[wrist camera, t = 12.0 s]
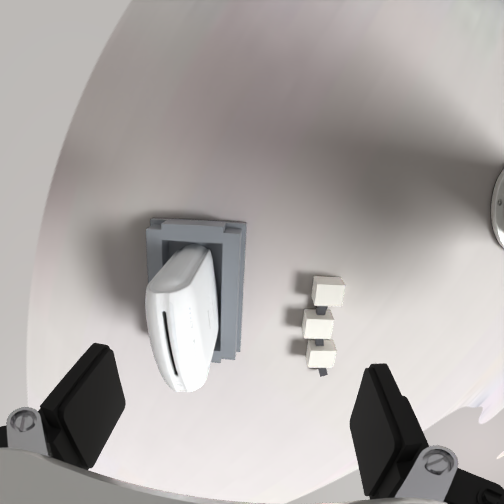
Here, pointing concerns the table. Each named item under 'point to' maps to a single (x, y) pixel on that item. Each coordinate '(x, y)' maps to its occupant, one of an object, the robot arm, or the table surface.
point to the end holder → (225, 266)
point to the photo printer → (184, 317)
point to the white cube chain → (322, 322)
